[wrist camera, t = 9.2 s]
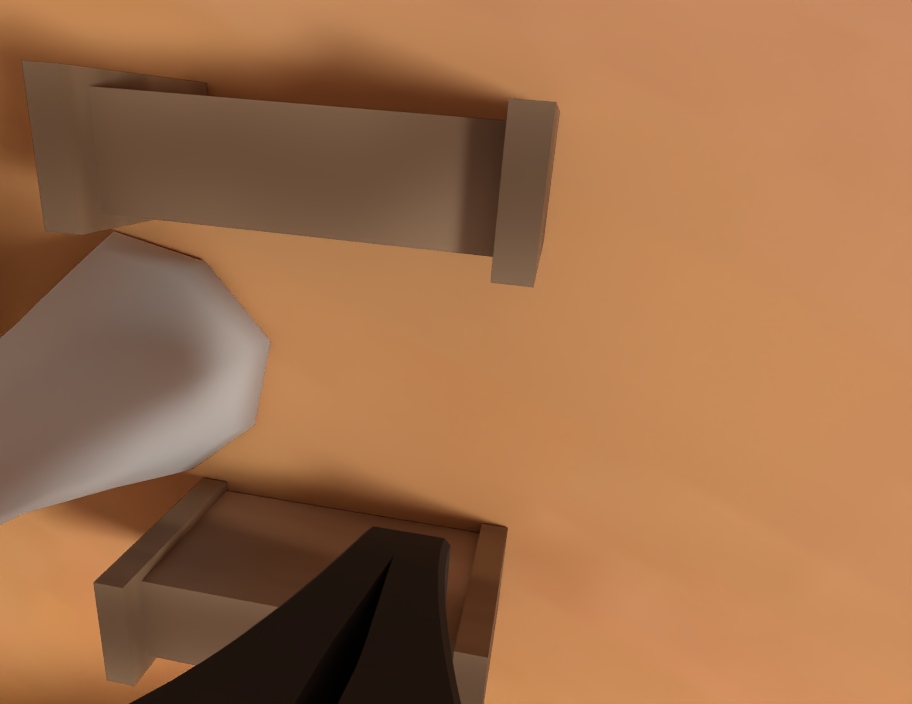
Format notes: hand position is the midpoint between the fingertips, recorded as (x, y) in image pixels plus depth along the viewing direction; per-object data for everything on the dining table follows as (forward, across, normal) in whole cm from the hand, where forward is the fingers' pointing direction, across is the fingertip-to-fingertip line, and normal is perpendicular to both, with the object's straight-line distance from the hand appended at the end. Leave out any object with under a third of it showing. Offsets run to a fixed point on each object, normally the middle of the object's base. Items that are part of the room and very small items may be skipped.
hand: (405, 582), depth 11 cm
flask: (+8, +10, 0) cm, 13 cm away
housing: (+8, +4, 0) cm, 9 cm away
